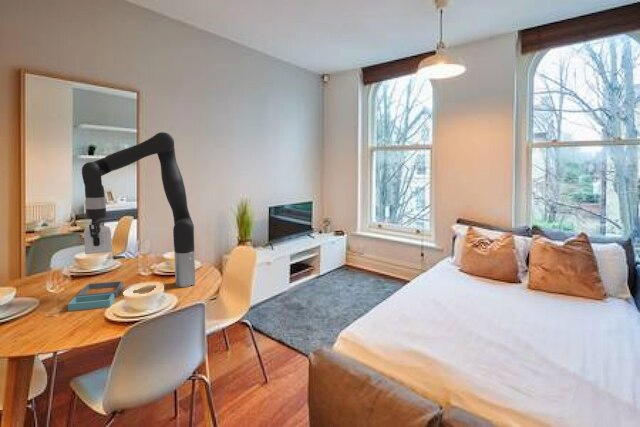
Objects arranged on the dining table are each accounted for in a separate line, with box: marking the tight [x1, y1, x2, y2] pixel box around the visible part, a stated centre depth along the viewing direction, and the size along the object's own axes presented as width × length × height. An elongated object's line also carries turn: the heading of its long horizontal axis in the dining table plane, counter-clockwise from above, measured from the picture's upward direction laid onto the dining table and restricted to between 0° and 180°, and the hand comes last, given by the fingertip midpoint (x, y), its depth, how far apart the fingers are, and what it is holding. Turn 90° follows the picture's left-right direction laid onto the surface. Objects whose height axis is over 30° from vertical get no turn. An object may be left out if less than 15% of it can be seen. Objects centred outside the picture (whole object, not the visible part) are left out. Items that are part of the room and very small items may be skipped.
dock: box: [67, 293, 116, 312], centre depth 139 cm, size 15×8×3 cm, turn 110°
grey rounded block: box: [83, 225, 113, 255], centre depth 148 cm, size 10×4×12 cm, turn 123°
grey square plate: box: [76, 280, 124, 298], centre depth 152 cm, size 15×15×2 cm
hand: (98, 244), depth 149 cm, fingers closed on grey rounded block, 5 cm apart
